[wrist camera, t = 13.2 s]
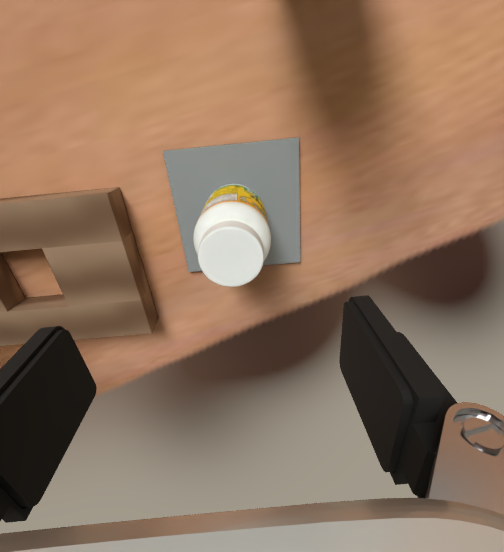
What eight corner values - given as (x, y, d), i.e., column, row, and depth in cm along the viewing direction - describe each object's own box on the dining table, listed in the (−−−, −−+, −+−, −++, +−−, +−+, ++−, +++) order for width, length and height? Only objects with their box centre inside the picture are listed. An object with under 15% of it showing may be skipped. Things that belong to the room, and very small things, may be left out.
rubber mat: (164, 150, 23) (162, 151, 23) (298, 137, 23) (298, 137, 23) (189, 270, 29) (188, 272, 28) (299, 260, 28) (300, 262, 28)
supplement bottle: (195, 194, 25) (169, 230, 16) (255, 174, 24) (260, 201, 16) (217, 249, 27) (205, 305, 19) (272, 232, 27) (285, 283, 18)
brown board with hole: (-105, 208, 25) (-138, 217, 23) (119, 187, 25) (106, 193, 23) (-21, 333, 32) (-40, 349, 30) (158, 318, 31) (151, 333, 29)
